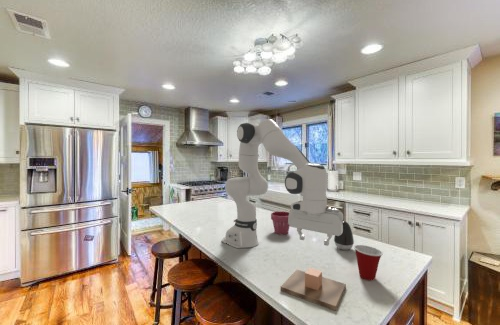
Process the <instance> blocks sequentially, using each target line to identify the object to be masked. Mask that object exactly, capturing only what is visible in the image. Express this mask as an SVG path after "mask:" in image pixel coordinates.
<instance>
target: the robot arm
mask: <svg viewBox="0 0 500 325" xmlns="http://www.w3.org/2000/svg"><path fill="white" fill-rule="evenodd" d="M236 136H237V139H238V141H239V142H240V143H239V149H238V150H239V151H238V165H237V166H238V168H239V169H240V170H241V171H243V172H244V173H247V176H243V177H241V176H239V177H238V176H237V177H236V176H235V177H232V178H228V179H227V180H226V181H225V185H224V190H225V192H226V194H227V195H228V196H229V197H231V199H232V200H233V201H234V203H235V205H236V206H235V207H236V214H237V217H236V219H234V220H233V223H234V225H232V226H231V227H230V228H228V229H227V230H226V233H225V236H224V237H223V238H221V242H222V243H224V244H226V243H227V244H226V245H228V244H229V245H228V246H230V247H233V248H235V249H243V248H253V247H256V246H258V245H259V243H260V242H259V239H258V234H257V225H258V223H257V222H258V221H257V206H256V205H255V203H253V202H251V201H249V200H248V199H247V197H251V196H253V197H254V196H261V195H265V194H266V193H268V192H267V191H268V189H269V182H268V181H267V179H266V178H265V177H264V176H262V174H261V173H260V170H259V146H260V145H261V144H262V145H263V147H264V150H266V151H267V153H269V154H270V155H271V156H273V157H276V158H281V159H285V160H287V161H290V162H291V163H292V164H293V165H294V167H296V168H297V169H296V170H292V171H290V172H288V173H287V174H286V176H285V178H284V186H285V189H286V191H287V192H288V193H289V194H290V195H295V196H296V195H302V200H299V201H295V202H292V203H291V204H290V210H289V211H288V212H289V217H288V224H289V226H290V227H289V228H295V229H296V231H297V234H298V235H299V240H301V241H304V240H305V239H306V238H305V234H304V233H303V231H302V230H305V231H310V232H315V233H322V234H326V237H327V238H326V239H324V240H323V245H324V246H327V247H328V246H330V240H331V238H332V237H333V236H335V235H336V236H340V235H341V234H342V233H343V224H342V221H344V213H343V212H342V210H340V209H338V208H331V207H328V204H327V203H328V197H327V189H328V174H327V169H326V167H325V166H324V165H322V164H319V163H313V162H310V160H309V159H308V158H307V157H306V155H305V154H304V153H303V152H302V151H301V150H300V148H299V147H298V146H296V145H295V144H294V143H293V142H292V141H291V140H290V139H289V138H288V137H287V136H286V134H285V133H284V131H283V130H282V128H281V127H280V126H279V125H278V124H277V123H276V122H275V121H274V120H273V119H271V118H265V119H263V120H261V121H260V122H244V123H241V124H239V126H238V127H237V130H236Z"/></svg>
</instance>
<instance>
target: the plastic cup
mask: <svg viewBox="0 0 500 325" xmlns="http://www.w3.org/2000/svg"><path fill="white" fill-rule="evenodd" d="M353 248H354V251H355V255H356V262H357V267H358V268H357V269H358V275H359V277H360V278H361V279H363V280H366V281H374V280H375V279H376V276H377V271H378V267H379V264H380V260H381V258H382V256H383V254H384V252H383V251H382V250H380V249H378V248H376V247H373V246H369V245H363V244H356V245H353Z"/></svg>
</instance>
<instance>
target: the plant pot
mask: <svg viewBox="0 0 500 325" xmlns="http://www.w3.org/2000/svg"><path fill="white" fill-rule="evenodd" d="M289 212H290V211H281V210H280V211H274V212H271V213H270V219H271V220H272V224H273V225H272V226H273V229H274V233H275V234H277V233H278V234H277V235H287V234H288V233H289V230H290V228H291V227H290V226H289V224H288V217H289Z"/></svg>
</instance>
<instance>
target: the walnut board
mask: <svg viewBox="0 0 500 325" xmlns="http://www.w3.org/2000/svg"><path fill="white" fill-rule="evenodd" d="M305 272H306V271H303V270H299V269H296V270H295V271H294V272H293V273H292V274H291V275H290V276H289V277H288V278H287V279H286V280H285V281H284V283H282V284H281V286H280V291H281V292H283V293H286V294H289V295H292V296H293V297H296V298H300V299H302V300H305V301H308V302H311V303H313V304H316V305H319V306H322V307H325V308H327V309H329V310H333V311H335V312H336V311H337V310H338V307H339V304H340V302H341V299H342V297H343V294H344V293H345V291H346V288H347V284H346V283H344V282H340V281H337V280H333V279H330V278H327V277H324V276H322V285H321V286H320V288H319V290H315V289H312V288H309V287H306V286H305Z"/></svg>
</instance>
